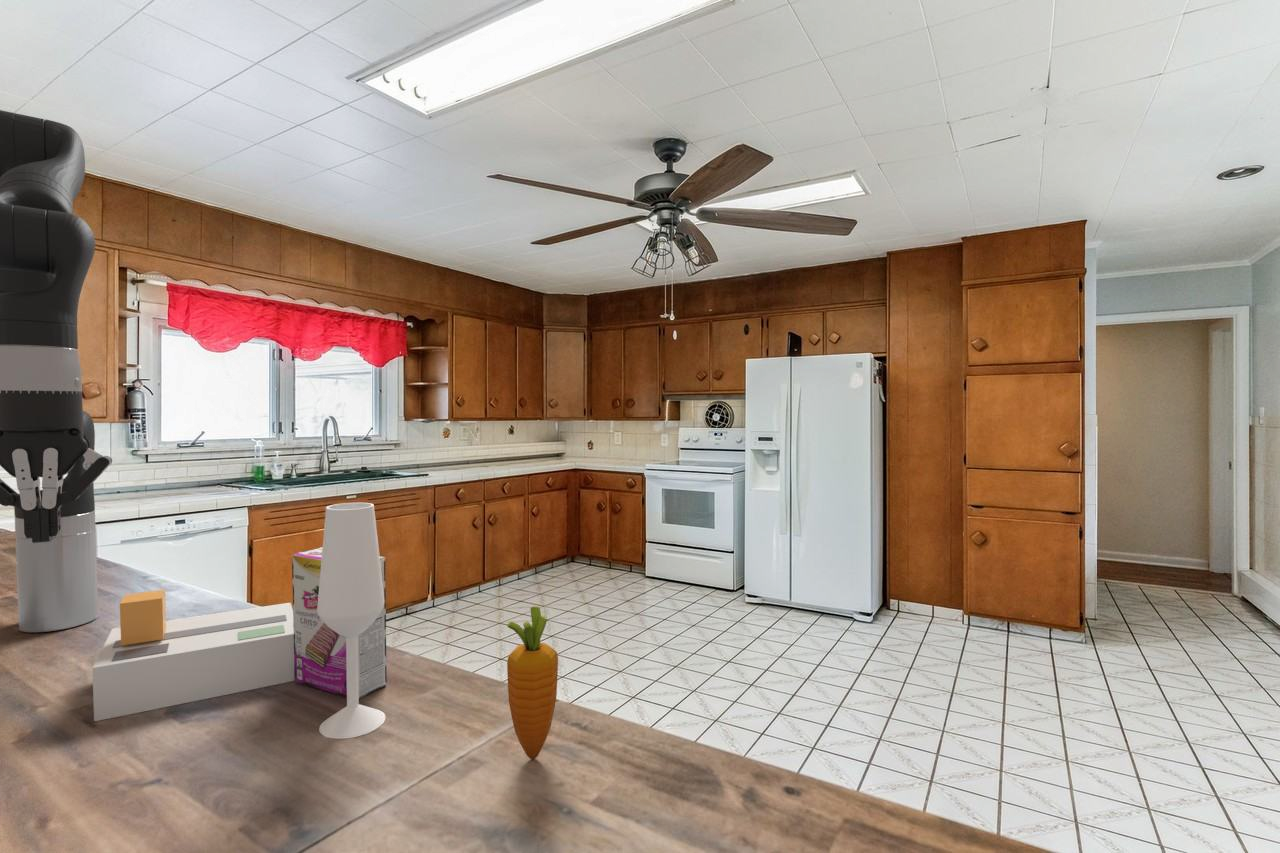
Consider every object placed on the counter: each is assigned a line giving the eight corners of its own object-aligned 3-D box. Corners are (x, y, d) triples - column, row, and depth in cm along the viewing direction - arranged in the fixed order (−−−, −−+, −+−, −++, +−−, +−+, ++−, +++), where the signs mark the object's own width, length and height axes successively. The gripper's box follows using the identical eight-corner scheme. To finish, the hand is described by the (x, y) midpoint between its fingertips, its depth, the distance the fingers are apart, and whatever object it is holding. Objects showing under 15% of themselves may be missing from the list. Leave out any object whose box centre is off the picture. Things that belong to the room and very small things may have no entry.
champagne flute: (334, 746, 66) (330, 514, 65) (309, 723, 70) (305, 506, 69) (396, 722, 71) (394, 506, 70) (369, 702, 75) (367, 499, 74)
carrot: (535, 779, 60) (535, 622, 60) (496, 763, 63) (496, 612, 62) (568, 754, 64) (568, 608, 64) (530, 740, 67) (530, 599, 66)
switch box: (114, 674, 82) (112, 627, 82) (291, 643, 93) (290, 601, 93) (94, 721, 70) (92, 667, 70) (299, 679, 81) (299, 632, 81)
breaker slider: (125, 634, 79) (124, 594, 78) (166, 628, 81) (165, 589, 80) (120, 645, 75) (119, 603, 75) (163, 639, 77) (162, 598, 77)
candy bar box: (291, 684, 80) (288, 553, 79) (325, 668, 84) (324, 545, 84) (356, 702, 75) (354, 564, 74) (389, 685, 80) (387, 555, 79)
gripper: (118, 389, 79) (122, 529, 79) (-34, 387, 72) (-28, 541, 72) (108, 388, 72) (112, 540, 73) (-60, 386, 65) (-53, 555, 66)
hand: (42, 541), depth 73 cm, fingers closed
